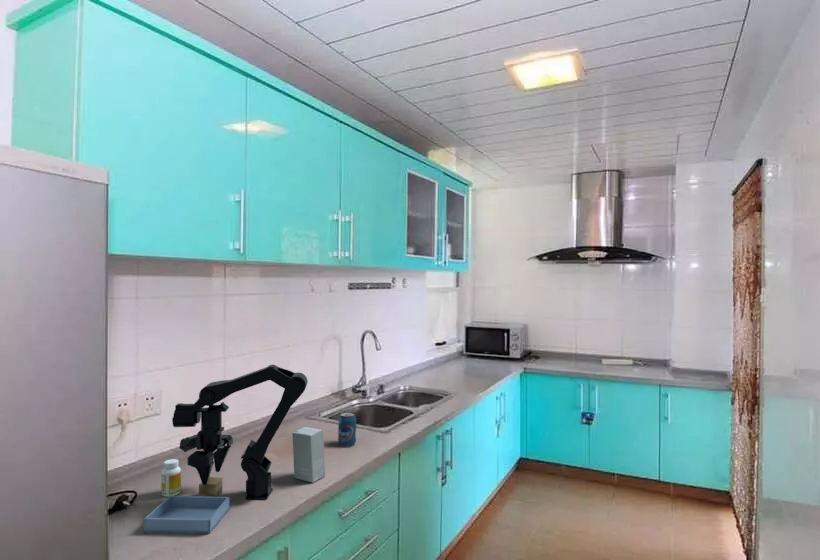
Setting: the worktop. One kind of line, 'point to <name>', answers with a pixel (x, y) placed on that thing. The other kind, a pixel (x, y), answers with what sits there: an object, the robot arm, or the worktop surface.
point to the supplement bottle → (171, 478)
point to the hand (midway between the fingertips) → (211, 477)
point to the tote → (187, 515)
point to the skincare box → (308, 454)
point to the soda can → (347, 429)
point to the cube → (211, 487)
